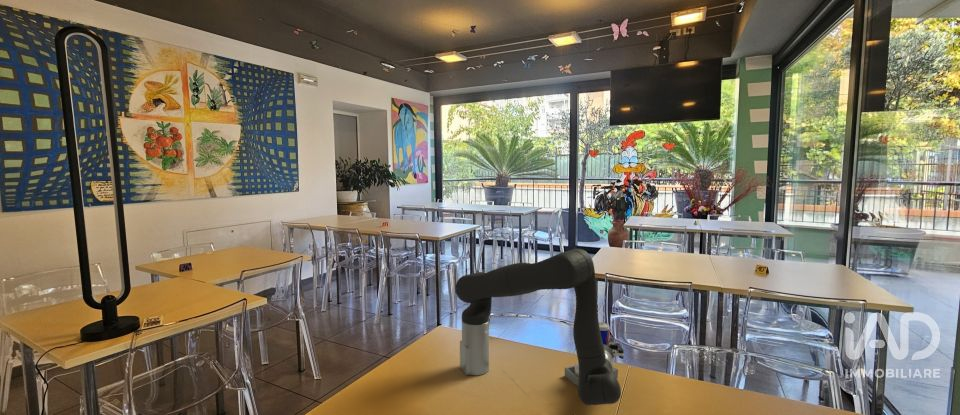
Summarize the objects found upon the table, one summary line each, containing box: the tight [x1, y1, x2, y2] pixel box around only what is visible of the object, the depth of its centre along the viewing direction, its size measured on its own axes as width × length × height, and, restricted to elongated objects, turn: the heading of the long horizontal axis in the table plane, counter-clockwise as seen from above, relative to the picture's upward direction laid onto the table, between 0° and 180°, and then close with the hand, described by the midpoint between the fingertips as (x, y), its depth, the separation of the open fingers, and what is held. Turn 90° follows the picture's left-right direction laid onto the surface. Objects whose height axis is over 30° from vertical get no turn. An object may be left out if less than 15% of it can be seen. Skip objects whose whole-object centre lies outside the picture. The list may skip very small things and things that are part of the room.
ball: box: [574, 362, 579, 377], centre depth 134 cm, size 5×5×4 cm
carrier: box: [564, 365, 619, 387], centre depth 135 cm, size 15×8×4 cm, turn 113°
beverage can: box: [599, 321, 611, 345], centre depth 136 cm, size 5×5×15 cm
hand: (601, 339), depth 138 cm, fingers closed on beverage can, 5 cm apart
